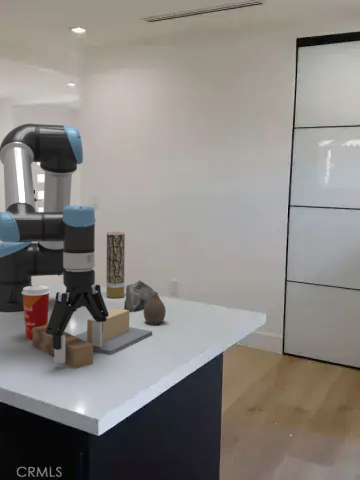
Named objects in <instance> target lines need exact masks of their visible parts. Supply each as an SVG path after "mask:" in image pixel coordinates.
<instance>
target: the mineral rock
mask: <svg viewBox="0 0 360 480" xmlns="http://www.w3.org/2000/svg"><path fill="white" fill-rule="evenodd" d="M158 294H159V293H158V292H157V291H155V290H154V289H153V288H152V286H149V285H148V284H146V283H145V282H144V281H142V280H138V281H137V282H135V283H133V284H132V283H131V284H127V285H126V287H125V301H124V307H123V308H124V310H129V312H130V311H131V312H132V311H133V312H135V311H136V310H141V309H142V308H143V309H144V307H145V304H146V303H147V301H148V300H149V299H150V297H151V295H158ZM158 296H159V295H158Z"/></svg>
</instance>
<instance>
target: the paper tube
mask: <svg viewBox="0 0 360 480" xmlns="http://www.w3.org/2000/svg"><path fill="white" fill-rule="evenodd" d="M125 236H126V235H125V232H123V231H108V232H106V297H108V298H110V299H119V298H123V297H124V296H125V256H126V255H125V254H126V253H125V252H126V251H125V250H126V249H125V240H126V237H125Z"/></svg>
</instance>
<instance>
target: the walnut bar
mask: <svg viewBox="0 0 360 480" xmlns="http://www.w3.org/2000/svg"><path fill="white" fill-rule="evenodd" d="M47 326H48V324H47V325H45V326H40V327H34V328H33V339H32V346H34V347H36V348H37V349H39V350H40V351H43V352H44V353H46V354H48V355H50V356H52V357H53V358H54V348H53V336H52V335H50V334H46V329H47ZM58 331H59V329H58ZM62 335H65V363H66V364H65V363H64V364H65V365H68V366H69V367H70V368H72V369H74V370H75V369H79V368H82V367H86V366H87V367H88V366H89V365H90V364H91V365H93V364H94V351H93V345H92V344H90V343H88V342H86V341H83V340H81V339H79V338H77V337H75V335H72V334H71V333H69V332H67V331H64V332H63V334H62Z"/></svg>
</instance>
